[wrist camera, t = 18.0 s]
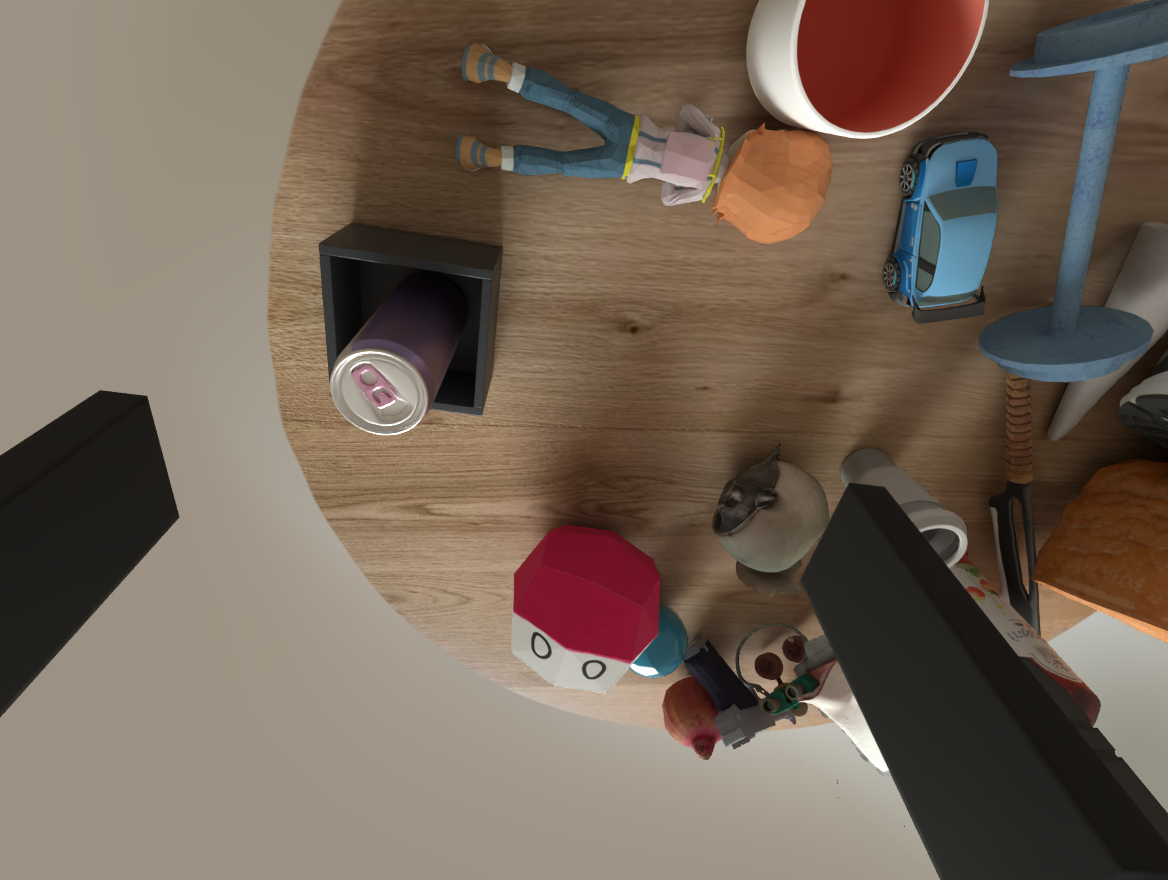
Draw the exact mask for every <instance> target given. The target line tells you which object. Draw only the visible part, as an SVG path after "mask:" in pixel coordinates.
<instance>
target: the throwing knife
mask: <svg viewBox="0 0 1168 880" xmlns="http://www.w3.org/2000/svg"><path fill="white" fill-rule="evenodd" d="M1007 376H1008V377H1007V379H1006V381H1007V383H1008V386H1007V393H1008V395H1006V400H1007V401H1008V403H1006V407H1007V410H1008V411H1009V412H1008V413H1007V415H1006V417H1007V418H1008V419H1009V421H1006V426H1007V427H1008V428H1007V433H1006V434H1007V435H1008V436H1007V438H1005V442H1006V443H1007V445H1006V446H1005V450H1006V451H1007V452H1008V453H1006V458H1007V459H1008V460H1006V462H1005V464H1006V465H1007V467H1008V468H1007V479H1008V481H1007V486H1006V488H1005V491H1004V492H1003V493H1001V494H999V495H996V496H992V497H991V498H990V499H989V501H988V503H989V507H990V509H991V514H992V521H993V528H994V535H995V543H996V551H997V559H998V567H999V576H1000V584H1001V593H1002V596H1003V597H1004V599H1005V600H1006V601H1007V602H1008V603H1009V604H1010V605H1011V606H1012V607H1013V608H1014V609H1015V610H1016V612H1017V613H1018V614H1019V615H1020V616H1021V617H1022V618H1023V619H1024V620H1025V621H1026V622H1027V623H1028V624H1029V625H1030V626H1031V627H1032V628H1033V629H1034V630H1035V631H1036V632H1037V633H1038V634H1039V635H1040V636H1041V632H1040V615H1039V592H1038V583H1037V582H1035V581H1033V580H1031V579H1032V575H1033V571H1034V568H1035V564H1036V546H1035V533H1034V519H1033V503H1032V497H1031V485H1030V482H1033V480H1034V478H1033V471H1031V469H1033V463H1032V460H1033V455H1032V447H1031V446H1032V440H1031V439H1030V437H1031V436H1032V432H1031V430H1030V429H1031V427H1032V426H1031V422H1030V420H1031V417H1032V416H1031V414H1030V412H1029V411H1031V410H1032V407H1031V404H1030V401H1031V396H1030V395H1029V394H1030V393H1031V387H1030V386H1029V384H1030V383H1031V379H1027V378H1023V377H1020V376H1017V375H1014V374H1012V373H1009V372H1007ZM1014 497H1017V499H1018V501H1019V502H1020V504H1021V507H1022V515H1023V523H1024V531H1025V540H1026V550H1027V559H1028V570H1029V595H1028V593H1027V591H1026V589H1025V586H1024V584H1023V579H1022V573H1021V566H1020V560H1019V554H1018V548H1017V540H1016V532H1015V524H1014V514H1013V501H1014Z"/></svg>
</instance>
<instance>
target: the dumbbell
mask: <svg viewBox="0 0 1168 880" xmlns="http://www.w3.org/2000/svg"><path fill="white" fill-rule="evenodd" d="M1165 56H1168V0H1149V1H1145V2H1141V3H1137V4H1133V5H1129V6H1125V7H1121V8H1117V9H1114V10H1110V11H1106V12H1102V13H1099V14H1095V15H1092V16H1088V17H1084V18H1081V19H1078V20H1074V21H1071V22H1068V23H1064V24H1061V25H1059V26H1056V27H1053V28H1050V29H1047V30H1045V31H1042V32H1040V33H1038V34H1037V36H1036V42H1035V49H1034V56H1033V57H1032V58H1030V59H1027V60H1024V61H1022V62H1019V63H1017V64H1015V65H1014V66H1012V67H1010V76H1014V77H1019V78H1026V77H1048V76H1057V75H1067V74H1075V73H1081V72H1088V71H1094V70H1095V73H1094V79H1093V84H1092V90H1091V95H1090V101H1089V107H1088V112H1087V118H1086V123H1085V129H1084V134H1083V140H1082V145H1081V151H1080V156H1079V162H1078V167H1077V173H1076V178H1075V184H1074V190H1073V195H1072V201H1071V206H1070V212H1069V217H1068V223H1067V228H1066V234H1065V239H1064V245H1063V250H1062V256H1061V262H1060V267H1059V273H1058V278H1057V284H1056V289H1055V295H1054V300H1053V306H1050V307H1041V308H1036V309H1030V310H1025V311H1020V312H1017V313H1014V314H1011V315H1008V316H1005V317H1002V318H1000V319H999V320H997V321H995V322H993V323H991V324H990V325H988V326H987V327H986V328H985V329H984V330H983V331H982V332H981V334H980V337H979V348H980V350H981V351H982V352H983V354H984V355H985V356H986V357H988V358H990V359H991V360H993V361H995V362H997V364H998V366H1000V367H1001V368H1003V369H1004V370H1006V371H1007V372H1009V373H1012V374H1014V375H1017V376H1020V377H1023V378H1027V379H1033V380H1039V381H1046V382H1072V381H1083V380H1089V379H1094V378H1098V377H1102V376H1105V375H1108V374H1110V373H1112V372H1114V371H1116V370H1118V369H1119V368H1120V367H1121V366H1122V365H1123V363H1125V362H1128V361H1131V360H1133V359H1135V358H1136V357H1138V356H1139V355H1141V354H1142V353H1144V352H1145V351H1147V349H1148V347H1149V344H1150V342H1151V339H1152V335H1153V332H1154V330H1153V328H1152V327H1151V325H1150V324H1149V322H1148V321H1146V320H1145V319H1143V318H1141V317H1139V316H1137V315H1135V314H1132V313H1129V312H1125V311H1121V310H1118V309H1113V308H1106V307H1098V306H1084V305H1080V304H1081V299H1082V294H1083V289H1084V284H1085V279H1086V275H1087V270H1088V265H1089V260H1090V255H1091V250H1092V246H1093V241H1094V236H1095V231H1096V226H1097V221H1098V217H1099V212H1100V207H1101V202H1102V197H1103V192H1104V188H1105V183H1106V178H1107V173H1108V168H1109V163H1110V159H1111V154H1112V149H1113V144H1114V139H1115V134H1116V130H1117V125H1118V120H1119V115H1120V110H1121V105H1122V101H1123V96H1124V91H1125V86H1126V81H1127V76H1128V72H1129V67H1130V64H1133V63H1138V62H1143V61H1148V60H1153V59H1157V58H1161V57H1165Z"/></svg>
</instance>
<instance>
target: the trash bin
mask: <svg viewBox="0 0 1168 880" xmlns="http://www.w3.org/2000/svg"><path fill="white" fill-rule="evenodd" d="M319 253H320V267H321V280H322V293H323V306H324V319H325V332H326V345H327V357H328V370H329V383H330V377H331V374H332V371H333V368H334V364H335V362H336V360H337V358H338V356H339V355H340V354H341V352H342V351H343V350H344V349H345V347H346V346H347V345H348V344H349V343H350V341H351V340H352V339H353V338H354V337H355V335H356V334H357V333H358V332H359V331H360V329H361V328H362V327H363V326H364V325H365V323H366V322H367V321H368V320H369V319H370V317H371V316H372V315H373V314H374V313H375V311H376V310H377V309H378V308H379V307H380V305H381V304H382V303H383V302H384V301H385V299H386V298H387V297H388V296H389V295H390V293H391V292H392V291H393V290H394V289H395V287H396V286H397V285H398V284H399V283H400V282H401V281H402V280H403V279H405V278H407V277H408V276H411V275H414V274H419V273H430V274H435V275H438V276H440V277H443V278H445V279H446V280H448V281H449V282H451V283H452V284H453V285H454V286H455V287H456V288H457V289H458V290H459V292H460V293H461V295H462V296H463V298H464V300H465V303H466V307H467V322H466V325H465V328H464V330H463V333H462V335H461V337H460V340H459V342H458V345H457V347H456V349H455V352H454V354H453V357H452V359H451V361H450V364H449V366H448V369H447V371H446V373H445V376H444V378H443V381H442V383H441V385H440V388H439V390H438V393H437V395H436V397H435V400H434V402H433V405H432V407H431V410H439V411H447V412H455V413H463V414H471V415H479V416H482V414H483V410H484V406H485V402H486V398H487V394H488V390H489V386H490V383H491V378H492V369H493V357H494V345H495V334H496V322H497V311H498V299H499V287H500V276H501V264H502V253H503V247H502V246H497V245H491V244H485V243H479V242H472V241H466V240H460V239H453V238H447V237H441V236H435V235H428V234H422V233H416V232H409V231H403V230H397V229H390V228H384V227H378V226H372V225H365V224H359V223H353V222H352V223H350V224H349V225H347V226H345V227H344V228H342V229H341V230H339V231H338V232H336V233H334V234H333V235H331V236H330V237H328V238H327V239H325V240H324V241H322V242H320V243H319ZM330 396H331V393H330ZM331 397H332V396H331Z"/></svg>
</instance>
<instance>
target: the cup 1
mask: <svg viewBox="0 0 1168 880" xmlns="http://www.w3.org/2000/svg"><path fill="white" fill-rule="evenodd" d="M988 6H989V0H759V2H758V4H757V6H756V9H755V11H754V14H753V17H752V20H751V24H750V27H749V32H748V38H747V49H746V60H747V69H748V74H749V79H750V82H751V85H752V88H753V90H754V93H755V95H756V97H757V98H758V100H759V102H760V103H761V104H762V106H763V107H764V108H765V109H766V110H767V111H768V112H769V113H770V114H771V115H772V116H773V117H775V118H776V119H777V120H779V121H781V122H783V123H785V124H787V125H790V126H793V127H797V128H802V129H807V130H812V131H818V132H823V133H829V134H834V135H839V136H845V137H850V138H863V139H864V138H875V137H880V136H885V135H888V134H891V133H894V132H896V131H899V130H901V129H903V128H905V127H907V126H909V125H911V124H913V123H914V122H916V121H917V120H919V119H920V118H922V117H923V116H925V115H926V114H927V113H928V112H930V111H931V110H932V109H933V108H934V107H935V106H937V105H938V104H939V103H940V102H941V101H942V100H943V99H944V97H945V96H946V95H947V94H948V93H949V92H950V91H951V89H952V88H953V87H954V86H955V84H956V83H957V82H958V80H959V79H960V77H961V76H962V74H963V73H964V71H965V69H966V68H967V66H968V64H969V63H970V61H971V59H972V57H973V55H974V53H975V50H976V48H977V46H978V43H979V41H980V38H981V35H982V32H983V29H984V26H985V22H986V17H987V12H988Z"/></svg>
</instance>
